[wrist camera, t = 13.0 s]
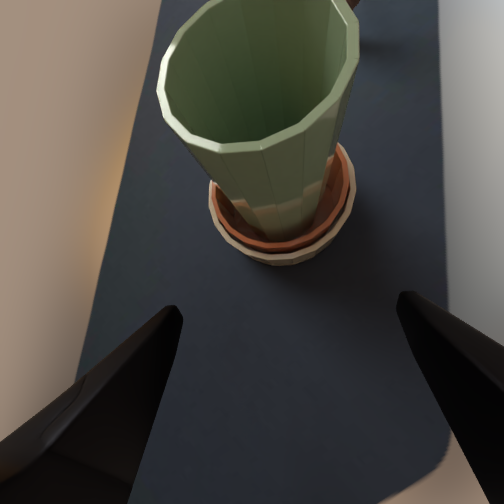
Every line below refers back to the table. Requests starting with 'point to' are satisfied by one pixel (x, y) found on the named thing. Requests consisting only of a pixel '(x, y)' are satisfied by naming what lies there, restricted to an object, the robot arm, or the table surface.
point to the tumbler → (263, 102)
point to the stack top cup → (334, 194)
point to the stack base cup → (306, 252)
